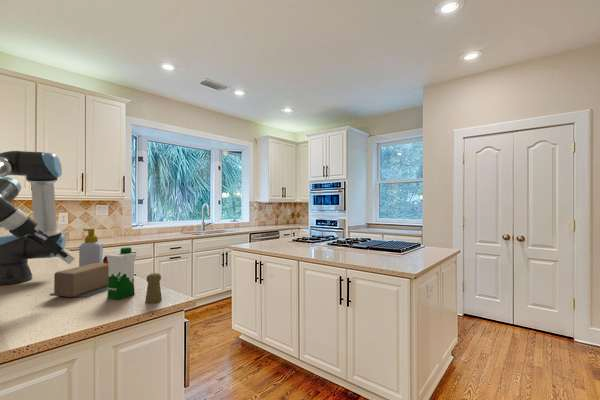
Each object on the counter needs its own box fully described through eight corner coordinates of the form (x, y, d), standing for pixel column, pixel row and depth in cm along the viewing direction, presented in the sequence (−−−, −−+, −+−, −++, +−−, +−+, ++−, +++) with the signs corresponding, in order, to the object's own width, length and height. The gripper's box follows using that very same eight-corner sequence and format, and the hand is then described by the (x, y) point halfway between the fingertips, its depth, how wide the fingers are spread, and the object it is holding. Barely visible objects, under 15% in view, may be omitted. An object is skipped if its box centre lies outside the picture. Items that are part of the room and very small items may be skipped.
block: (73, 273, 119) (113, 263, 138) (53, 272, 121) (95, 262, 140) (72, 298, 119) (113, 284, 138) (52, 296, 121) (95, 283, 140)
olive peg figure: (145, 304, 113) (145, 276, 113) (145, 300, 119) (145, 272, 119) (162, 302, 116) (162, 274, 116) (161, 297, 121) (161, 271, 121)
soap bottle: (83, 274, 157) (83, 228, 157) (102, 273, 161) (103, 227, 161) (78, 279, 149) (78, 230, 149) (99, 277, 153) (99, 229, 153)
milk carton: (138, 294, 125) (138, 248, 125) (118, 301, 117) (119, 251, 117) (123, 292, 128) (123, 246, 128) (103, 298, 120) (103, 250, 120)
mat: (86, 283, 142) (86, 282, 142) (119, 284, 139) (119, 283, 139) (50, 294, 124) (50, 293, 124) (87, 297, 121) (87, 295, 121)
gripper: (1, 230, 108) (56, 266, 122) (15, 232, 101) (71, 270, 115) (21, 215, 112) (71, 252, 127) (34, 216, 106) (86, 255, 120)
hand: (71, 261), depth 121 cm, fingers closed
